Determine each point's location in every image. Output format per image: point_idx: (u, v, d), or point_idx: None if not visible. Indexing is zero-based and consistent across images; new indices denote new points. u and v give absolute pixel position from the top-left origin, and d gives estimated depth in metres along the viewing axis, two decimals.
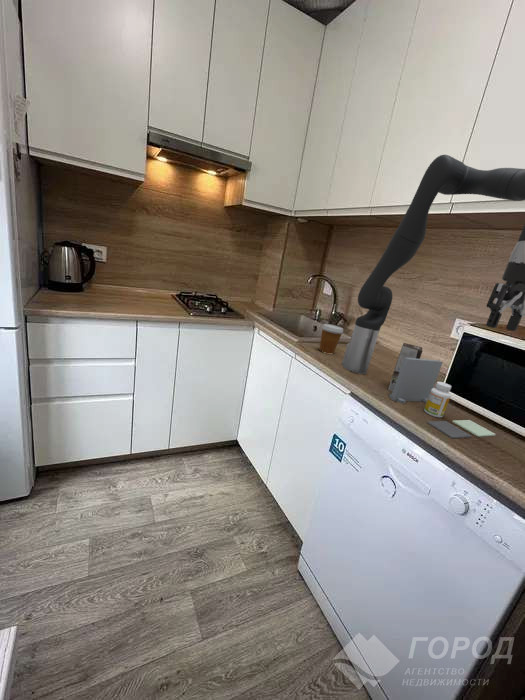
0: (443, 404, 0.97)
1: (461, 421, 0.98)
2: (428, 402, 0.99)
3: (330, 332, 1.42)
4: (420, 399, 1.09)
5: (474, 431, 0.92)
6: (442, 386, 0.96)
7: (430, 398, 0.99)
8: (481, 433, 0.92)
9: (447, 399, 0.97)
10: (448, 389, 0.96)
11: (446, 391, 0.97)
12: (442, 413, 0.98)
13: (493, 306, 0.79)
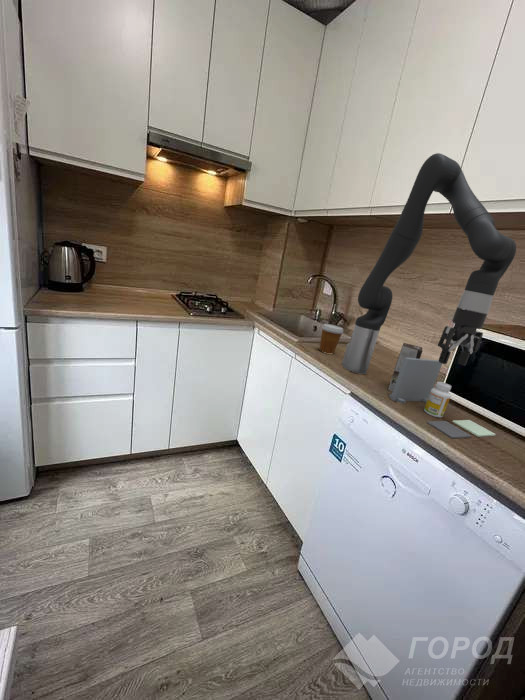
0: (443, 404, 0.97)
1: (461, 421, 0.98)
2: (428, 402, 0.99)
3: (330, 332, 1.42)
4: (420, 399, 1.09)
5: (474, 431, 0.92)
6: (442, 386, 0.96)
7: (430, 398, 0.99)
8: (481, 433, 0.92)
9: (447, 399, 0.97)
10: (448, 389, 0.96)
11: (446, 391, 0.97)
12: (442, 413, 0.98)
13: (443, 346, 0.92)
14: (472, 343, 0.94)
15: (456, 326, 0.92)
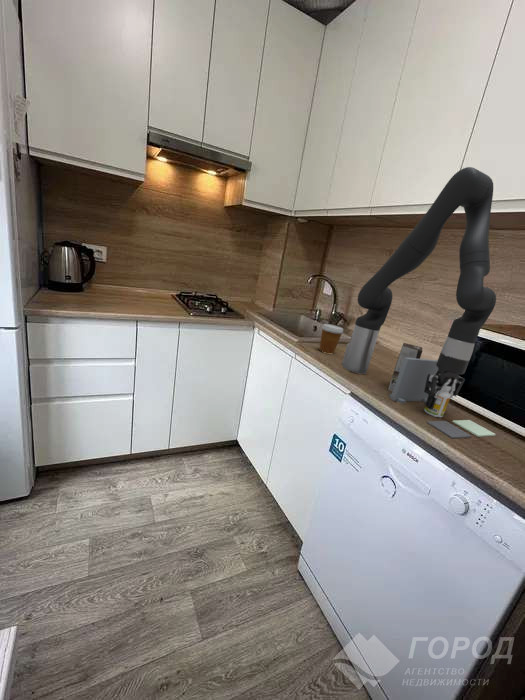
0: (443, 404, 0.97)
1: (461, 421, 0.98)
2: None
3: (330, 332, 1.42)
4: (420, 399, 1.09)
5: (474, 431, 0.92)
6: None
7: None
8: (481, 433, 0.92)
9: (447, 399, 0.97)
10: (448, 389, 0.96)
11: (446, 391, 0.97)
12: (442, 413, 0.98)
13: (429, 393, 0.96)
14: (454, 387, 0.98)
15: (439, 371, 0.95)
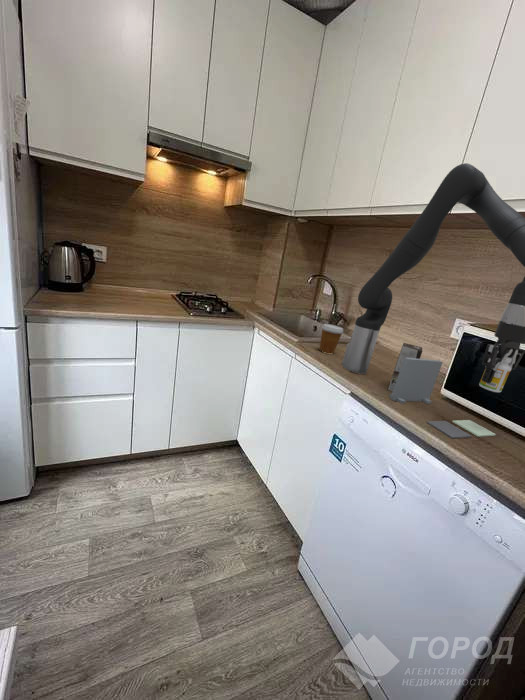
0: (502, 377, 0.89)
1: (461, 421, 0.98)
2: None
3: (330, 332, 1.42)
4: (420, 399, 1.09)
5: (474, 431, 0.92)
6: None
7: None
8: (481, 433, 0.92)
9: (507, 372, 0.88)
10: (509, 361, 0.88)
11: (506, 363, 0.88)
12: (501, 387, 0.89)
13: (488, 365, 0.88)
14: (514, 359, 0.89)
15: (500, 341, 0.87)
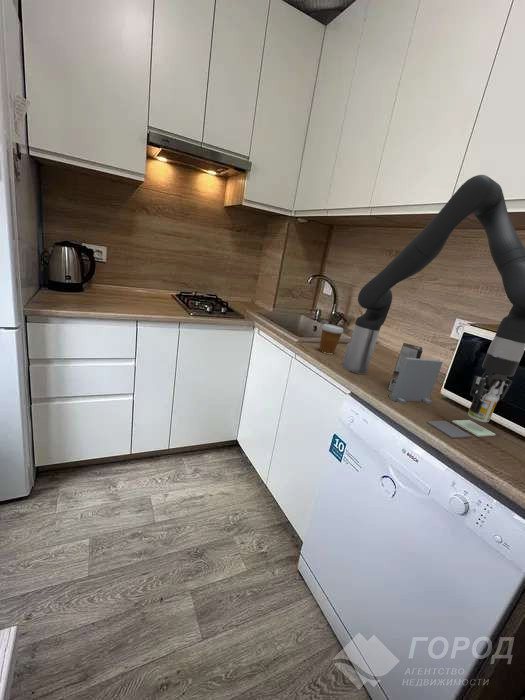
0: (490, 408, 0.91)
1: (461, 421, 0.98)
2: None
3: (330, 332, 1.42)
4: (420, 399, 1.09)
5: (474, 431, 0.92)
6: None
7: None
8: (481, 433, 0.92)
9: (495, 403, 0.91)
10: (496, 392, 0.90)
11: (494, 394, 0.91)
12: (489, 417, 0.92)
13: (475, 397, 0.90)
14: (501, 390, 0.92)
15: (487, 373, 0.89)
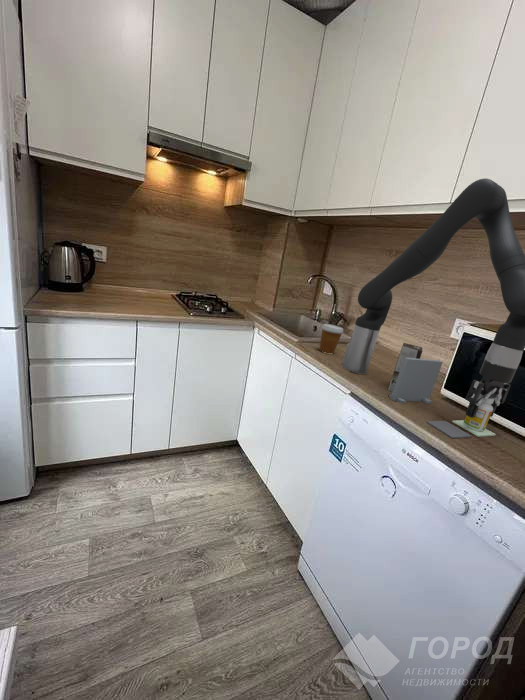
0: (485, 418, 0.92)
1: (461, 421, 0.98)
2: None
3: (330, 332, 1.42)
4: (420, 399, 1.09)
5: (474, 431, 0.92)
6: None
7: None
8: (481, 433, 0.92)
9: (490, 412, 0.91)
10: (491, 402, 0.91)
11: (489, 404, 0.92)
12: (484, 426, 0.93)
13: (471, 400, 0.90)
14: (500, 395, 0.92)
15: (484, 380, 0.90)
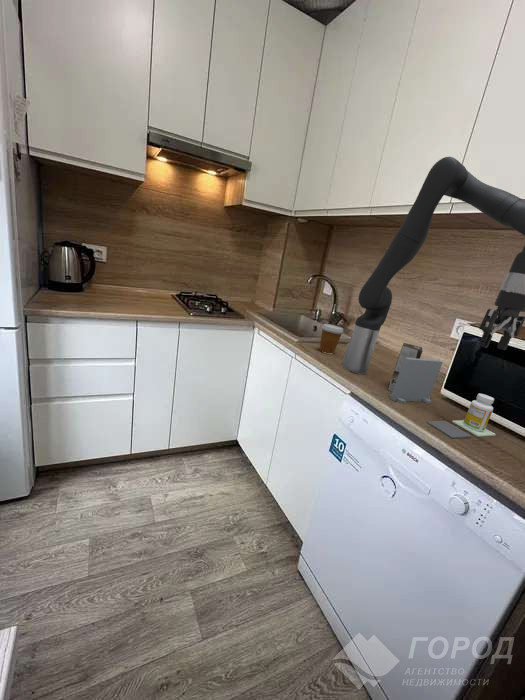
0: (485, 418, 0.92)
1: (461, 421, 0.98)
2: (468, 415, 0.94)
3: (330, 332, 1.42)
4: (420, 399, 1.09)
5: (474, 431, 0.92)
6: (485, 399, 0.91)
7: (471, 411, 0.94)
8: (481, 433, 0.92)
9: (490, 412, 0.91)
10: (491, 402, 0.91)
11: (489, 404, 0.92)
12: (484, 426, 0.93)
13: (485, 329, 0.90)
14: (514, 326, 0.92)
15: (499, 309, 0.90)
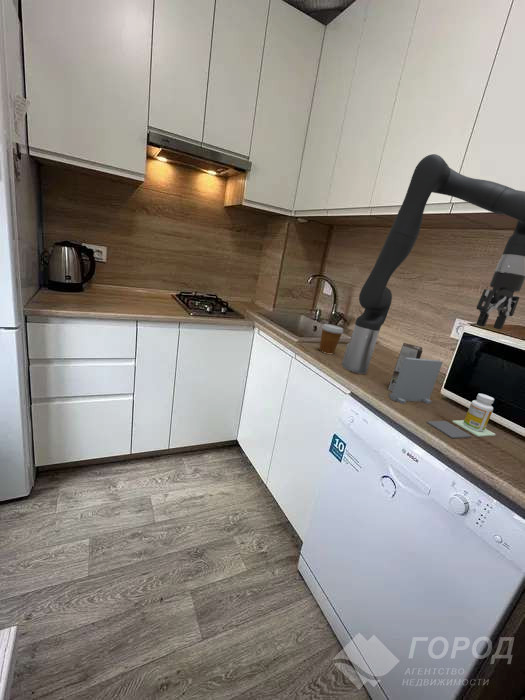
0: (485, 418, 0.92)
1: (461, 421, 0.98)
2: (468, 415, 0.94)
3: (330, 332, 1.42)
4: (420, 399, 1.09)
5: (474, 431, 0.92)
6: (485, 399, 0.91)
7: (471, 411, 0.94)
8: (481, 433, 0.92)
9: (490, 412, 0.91)
10: (491, 402, 0.91)
11: (489, 404, 0.92)
12: (484, 426, 0.93)
13: (482, 308, 0.95)
14: (509, 306, 0.97)
15: (495, 289, 0.95)
